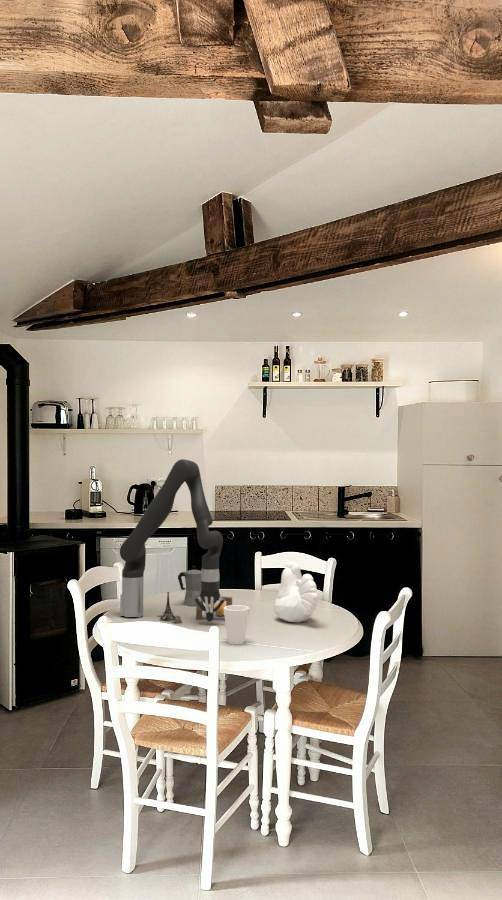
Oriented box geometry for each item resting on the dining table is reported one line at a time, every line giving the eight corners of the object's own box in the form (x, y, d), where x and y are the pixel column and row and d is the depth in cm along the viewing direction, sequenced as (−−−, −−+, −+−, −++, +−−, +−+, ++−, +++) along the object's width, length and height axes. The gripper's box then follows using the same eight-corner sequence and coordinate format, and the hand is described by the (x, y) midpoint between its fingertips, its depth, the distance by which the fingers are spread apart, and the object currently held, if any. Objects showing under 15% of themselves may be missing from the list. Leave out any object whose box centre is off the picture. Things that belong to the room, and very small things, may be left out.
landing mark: (201, 617, 309) (201, 617, 309) (207, 611, 321) (207, 611, 321) (228, 619, 307) (228, 618, 307) (233, 612, 319) (233, 612, 319)
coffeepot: (199, 600, 344) (199, 563, 344) (210, 604, 336) (211, 565, 336) (172, 604, 334) (172, 566, 334) (183, 608, 327) (183, 569, 327)
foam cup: (248, 639, 276) (248, 605, 276) (249, 645, 267) (249, 610, 267) (223, 638, 276) (223, 605, 276) (223, 645, 267) (223, 610, 266)
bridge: (230, 621, 304) (231, 598, 304) (196, 619, 306) (196, 597, 306) (232, 619, 307) (232, 596, 307) (197, 618, 309) (197, 595, 309)
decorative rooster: (269, 616, 313) (270, 559, 313) (303, 614, 317) (304, 558, 317) (288, 630, 289) (289, 569, 289) (325, 628, 293) (325, 567, 293)
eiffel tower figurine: (182, 624, 299) (182, 592, 299) (158, 625, 297) (158, 593, 297) (179, 616, 314) (179, 585, 314) (156, 617, 312) (156, 586, 312)
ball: (213, 619, 311) (213, 607, 309) (215, 611, 317) (214, 599, 315) (227, 619, 311) (226, 607, 309) (228, 611, 316) (228, 599, 314)
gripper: (192, 580, 294) (192, 622, 294) (224, 581, 292) (223, 624, 293) (196, 577, 302) (196, 618, 302) (227, 578, 300) (227, 619, 300)
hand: (209, 621), depth 297 cm, fingers closed
